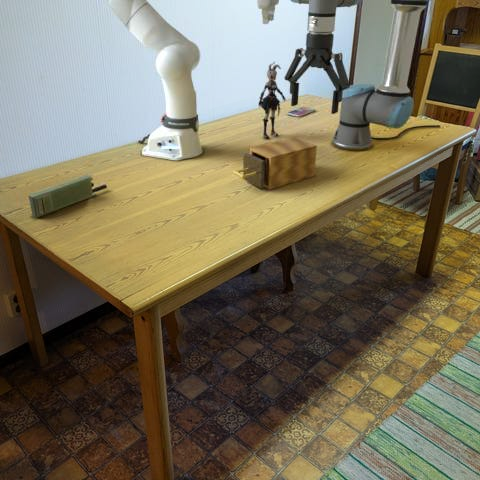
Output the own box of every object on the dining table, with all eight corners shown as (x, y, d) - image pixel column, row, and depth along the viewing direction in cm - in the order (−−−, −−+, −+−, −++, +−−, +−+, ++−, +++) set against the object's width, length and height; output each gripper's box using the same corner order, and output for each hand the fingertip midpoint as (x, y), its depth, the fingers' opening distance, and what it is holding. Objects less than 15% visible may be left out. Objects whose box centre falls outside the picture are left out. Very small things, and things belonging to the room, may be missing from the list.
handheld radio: (30, 215, 144) (102, 188, 161) (37, 219, 142) (109, 191, 159) (26, 193, 140) (100, 168, 157) (33, 197, 138) (107, 171, 155)
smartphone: (316, 109, 243) (299, 115, 233) (316, 111, 244) (299, 117, 234) (303, 106, 247) (286, 112, 237) (303, 108, 248) (285, 114, 237)
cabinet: (269, 189, 162) (271, 157, 156) (249, 178, 169) (249, 147, 164) (314, 175, 172) (317, 145, 167) (293, 166, 180) (295, 136, 174)
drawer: (246, 192, 157) (246, 165, 153) (228, 183, 164) (228, 156, 159) (304, 175, 170) (306, 149, 166) (285, 167, 176) (286, 142, 172)
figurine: (261, 141, 202) (264, 63, 188) (251, 138, 206) (252, 61, 192) (286, 134, 211) (290, 59, 196) (276, 131, 215) (279, 57, 200)
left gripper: (265, -28, 165) (264, 18, 172) (253, -26, 148) (252, 25, 155) (284, -28, 164) (282, 19, 171) (275, -26, 147) (272, 26, 153)
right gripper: (275, 30, 144) (272, 104, 154) (355, 38, 131) (346, 119, 142) (289, 27, 149) (285, 99, 160) (367, 35, 136) (358, 113, 147)
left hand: (268, 22), depth 163 cm, fingers open, 8 cm apart
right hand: (314, 109), depth 151 cm, fingers open, 13 cm apart
